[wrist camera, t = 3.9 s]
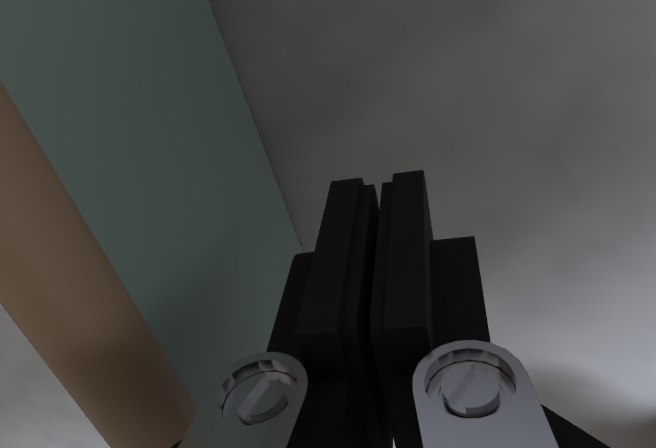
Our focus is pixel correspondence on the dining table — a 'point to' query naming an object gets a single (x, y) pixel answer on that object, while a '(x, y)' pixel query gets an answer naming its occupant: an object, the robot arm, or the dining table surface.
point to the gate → (134, 208)
